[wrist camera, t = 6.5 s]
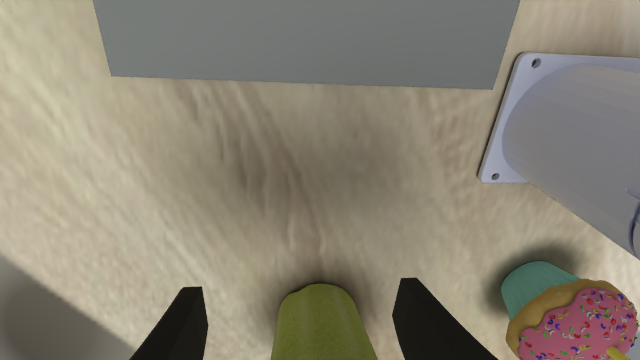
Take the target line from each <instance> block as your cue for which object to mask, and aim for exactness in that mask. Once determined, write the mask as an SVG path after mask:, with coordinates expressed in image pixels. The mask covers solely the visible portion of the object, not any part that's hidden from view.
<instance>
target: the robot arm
mask: <svg viewBox="0 0 640 360" xmlns="http://www.w3.org/2000/svg"><path fill="white" fill-rule="evenodd" d="M535 59H536V63H535V65H533V66H532V62H533V60H535ZM495 173H496V174H495ZM493 174H495V176H493V177H492V175H493ZM478 178H479V180H481V181H482V182H483V183H532V184H533V185H535V186H536V187H537V188H539V189H540V190H542V191H543V192H545V193H546V194H547V195H549V196H550V197H552V198H553V199H554V200H556V201H557V202H559V203H560V204H561V205H563V206H564V207H566V208H567V209H568V210H570V211H571V212H573V213H574V214H575V215H577V216H578V217H580V218H581V219H583V220H584V221H585V222H587V223H588V224H590V225H591V226H592V227H594V228H595V229H597V230H598V231H599V232H601V233H602V234H604V235H605V236H606V237H608V238H609V239H611V240H612V241H613V242H615V243H616V244H618V245H619V246H620V247H622V248H623V249H625V250H626V251H628V252H629V253H630V254H632V255H633V256H635V257H636V258H637V259H639V260H640V58H630V57H610V56H591V55H571V54H552V53H532V52H525V53H522V54H521V55H519V57H518V58H517V59H516V61H515V64H514V67H513V70H512V73H511V76H510V80H509V83H508V86H507V89H506V92H505V95H504V98H503V101H502V104H501V107H500V110H499V113H498V116H497V119H496V122H495V125H494V128H493V131H492V134H491V137H490V140H489V143H488V146H487V149H486V152H485V155H484V158H483V161H482V165H481V168H480V171H479V174H478ZM392 317H393V321H394V325H395V330H396V333H397V337H398V341H399V344H400V347H401V350H402V353H403V355H404V358H405V360H498V359H497V358H496V357H495V356H494V355H492V354H491V353H490V352H489V351H488V350H487V349H486V348H485V347H484V346H483V345H481V344H480V343H479V342H478V341H477V340H476V339H475V338H474V337H473V336H472V335H471V334H470V333H469V332H468V331H467V330H466V329H465V328H464V327H463V326H462V325H461V324H460V323H459V322H458V321H457V320H456V319H455V318H454V317H453V316H452V315H451V314H450V313H449V312H448V311H447V310H446V309H445V308H444V307H443V305H442V304H441V303H440V302H439V301H438V300H437V299H436V298H435V297H434V296H433V295H432V294H431V293H430V291H429V290H428V289H427V288H426V287H425V286H424V285H423V284H422V283H421V282H420V281H419V280H418V279H417V278H401V281H400V285H399V289H398V293H397V297H396V301H395V305H394V309H393V314H392ZM207 331H208V321H207V315H206V309H205V303H204V297H203V291H202V287H183V288H182V289H181V290H180V292H179V293H178V295H177V296H176V298H175V299H174V301H173V302H172V304H171V305H170V306H169V308H168V309H167V311H166V312H165V314H164V315H163V316H162V318H161V319H160V321H159V322H158V323H157V325H156V326H155V327H154V329H153V330H152V331H151V333H150V334H149V335H148V337H147V338H146V339H145V341H144V342H143V343H142V345H141V346H140V347H139V348H138V350H137V351H136V352H135V353H134V355H133V356H132V357H131V358H130V359H129V360H203V356H204V350H205V344H206V338H207Z"/></svg>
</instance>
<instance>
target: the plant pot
mask: <svg viewBox="0 0 640 360" xmlns="http://www.w3.org/2000/svg"><path fill="white" fill-rule="evenodd" d="M271 360H378V359H377V356H376V354H375V352H374V349H373V347H372V344H371V342H370V340H369V337H368V335H367V332H366V330H365V328H364V325H363V323H362V321H361V318H360V316H359V313H358V311H357V308H356V306H355V303H354V301H353V300H352V298H351V297H350V296H349V294H348V293H347V292H346V291H345V290H344V289H342V288H340V287H337V286H334V285H330V284H311V285H308V286H306V287H305V288H303V289H302V290H300V291H298V292H295V293H290V294H289V295H288V296H287V297H286V298H285V299H284V300H283V302H282V303H281V305H280V308H279V313H278V318H277V324H276V330H275V337H274V343H273V349H272V355H271Z"/></svg>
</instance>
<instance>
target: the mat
mask: <svg viewBox="0 0 640 360" xmlns="http://www.w3.org/2000/svg"><path fill="white" fill-rule="evenodd" d="M519 3H520V0H93V4H94V8H95V12H96V16H97V20H98V24H99V28H100V32H101V36H102V40H103V44H104V48H105V52H106V56H107V61H108V65H109V69H110V73H111V76H120V77H148V78H177V79H206V80H234V81H263V82H291V83H320V84H348V85H377V86H406V87H434V88H463V89H491V90H493V87H494V84H495V81H496V77H497V74H498V71H499V68H500V64H501V61H502V58H503V55H504V51H505V48H506V45H507V42H508V39H509V35H510V32H511V29H512V26H513V22H514V19H515V16H516V13H517V10H518V6H519Z"/></svg>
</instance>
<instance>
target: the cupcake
mask: <svg viewBox="0 0 640 360" xmlns="http://www.w3.org/2000/svg"><path fill="white" fill-rule="evenodd" d="M501 294H502V297H503V300H504V302H505V305H506V308H507V311H508V315H509V319H510V322H509V324H508V329H507V334H506V342H507V344H508V346H509V347H510V349H511V350H512V351H513V353H514V354H515V355H516V356H517V357H518V358H519V359H520V360H630V359H629V358H628V357H626V356H625V354H626V353H627V352H628V351H629V349H630V347H632V346H633V345H634V342H635V341H634V340H635V339H636V338H637V337H635V335H636V333H637V331H638V327H639V326H640V325H638V320H636V315H637V312H636V313H635V311H636V310H635V308H634V307H635V306H634V304H633V303H632V302H630V301H629V300H628V299H627V297H626V296H625V295H624V294H623V293H622V292H620V291H619V290H618V289H617V288H616V287H614V286H613V285H612V284H610V283H608V282H606V281H602V280H599V281H593V280H589V279H581V278H578V277H576V276H574V275H571V274H569V273H567V272H565V271H564V270H562V269H560V268H558V267H556V266H554V265H553V264H551V263H548V262H545V261H534V262H530V263H526V264H524V265H522V266H520V267H518V268H516V269H515V270H513V271H512V272H511V273H510V274H509V275H508V276H507V277H506V278H505V279H504V281H503V283H502V286H501Z"/></svg>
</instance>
